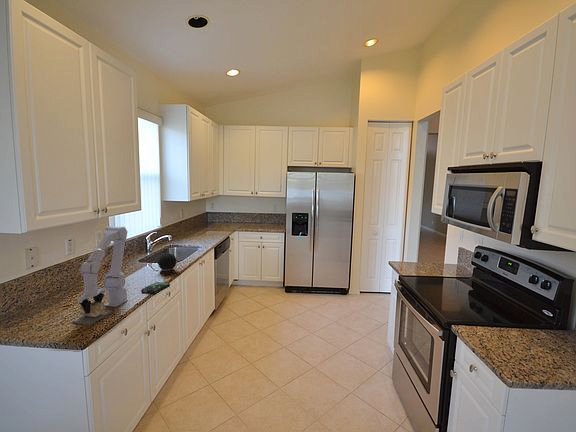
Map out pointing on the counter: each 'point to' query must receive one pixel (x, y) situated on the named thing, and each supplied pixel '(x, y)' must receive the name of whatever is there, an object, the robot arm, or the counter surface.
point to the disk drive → (155, 288)
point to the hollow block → (93, 309)
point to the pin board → (91, 318)
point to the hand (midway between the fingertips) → (92, 310)
